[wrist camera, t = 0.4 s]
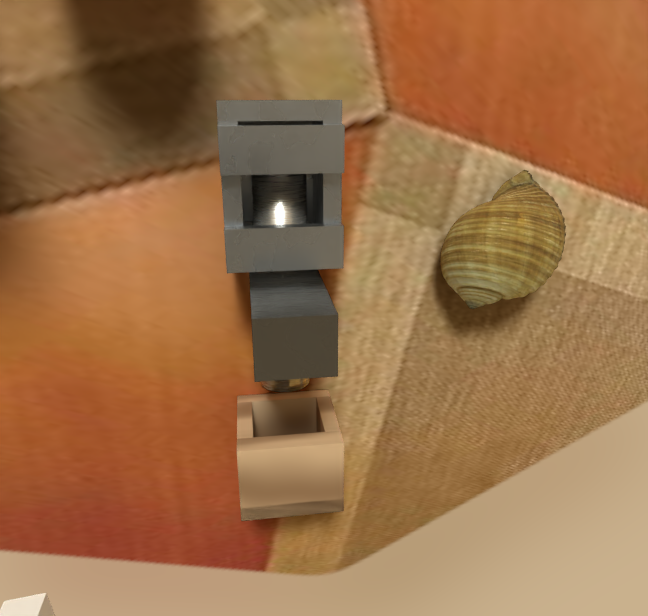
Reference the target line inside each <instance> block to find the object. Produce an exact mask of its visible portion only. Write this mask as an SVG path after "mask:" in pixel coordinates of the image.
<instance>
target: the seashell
mask: <svg viewBox="0 0 648 616" xmlns="http://www.w3.org/2000/svg"><path fill="white" fill-rule="evenodd" d="M564 220H565V219H564V217H563V216H562V213H561V210H560V209H559V207H558V204H557V203H556V202H555V201H554V198H553V197H551V196H550V195H549V194H548V193H547V192H545V191H544V190H543V188H541V187H540V186H539V184H538V183H537V182H535V181H533V179H532V175H531V174H530V173H528V171H526V170H523V171H522V172H520V173H519V174H518V175H516V176H514V177H513V178H511V179H509V180H508V181H506V182H505V183H504V184H503V185H502V186H501V187H500V189H499V190H498V191H497V192H496V194H495V195H494V196H493V199H492V201H490V202H487V203H484V204H481V205H479V206H477V207H475V208H473V209H471V210H470V211H468V212H467V213H465V214H464V215H462V216H461V217H460V218H459V219H458V220H457V221H456V222H455V223H454V225H453V226H452V227H451V229H450V231H449V232H448V234H447V237H446V238H445V241H444V244H443V246H442V251H441V260H440V262H441V270H442V274H443V277H444V278H445V280H446V282H447V284H448V285H449V286H450V287H451V288H453V290H454V291H455V292H456V293H458V294H459V296H460V298H462V299H463V300H464V301H465V302H466V304H467V305H468V306H469V308H470V309H474V308H477V307H480V306H484V305H485V304H492V303H495V302H497V301H499V300H501V299H512V298H518V297H525V296H526V295H527V294H529V293H532V292H535V291H536V290H537V289H538V288H539V287H540V286H542V285H544V284H545V282H546V281H547V279H548V278H549V277H551V275H552V273H553V271H554V270H555V269H556V268H557V267H558V262H559V261H560V260H561V256H562V253H563V249H564V243H565V235H566V233H565V228H566V226H565V224H564Z"/></svg>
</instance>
